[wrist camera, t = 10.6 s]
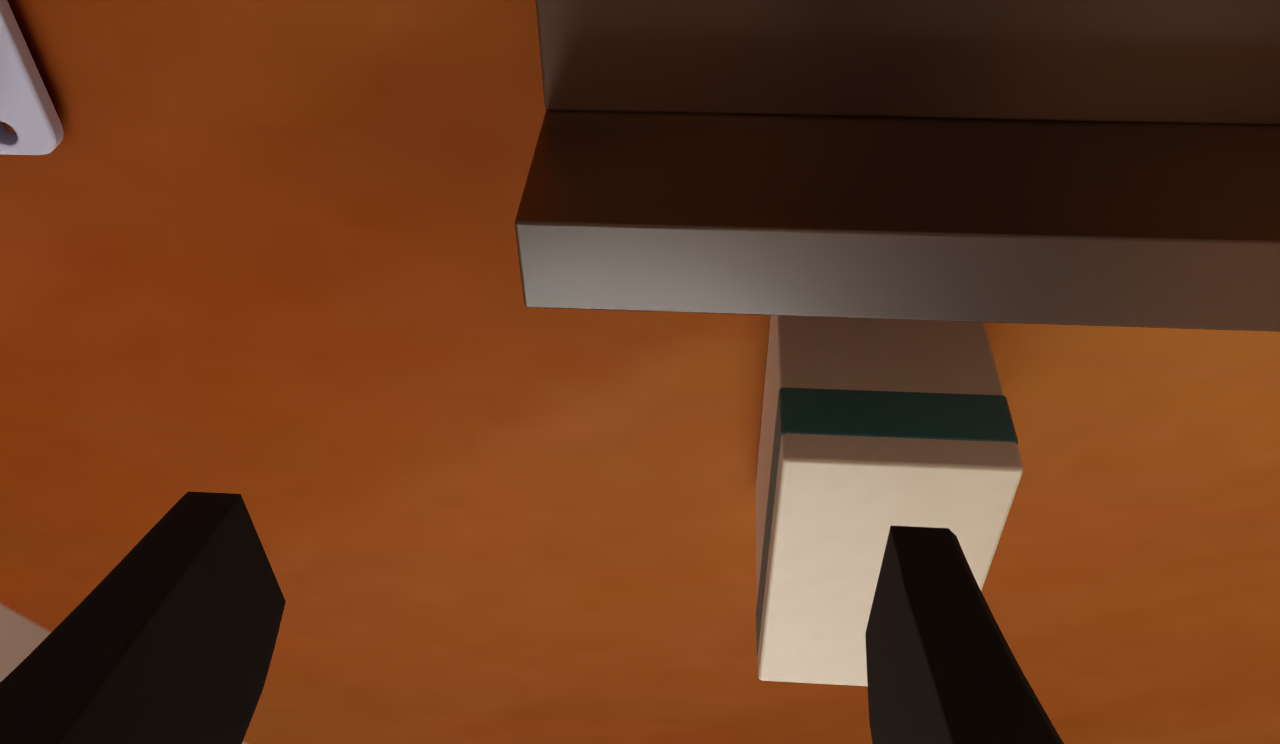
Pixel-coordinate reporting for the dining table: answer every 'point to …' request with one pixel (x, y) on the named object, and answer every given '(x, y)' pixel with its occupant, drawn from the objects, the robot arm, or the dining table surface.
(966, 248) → the walnut shelf
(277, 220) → the dining table surface
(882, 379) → the tea box
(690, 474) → the dining table surface
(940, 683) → the robot arm
